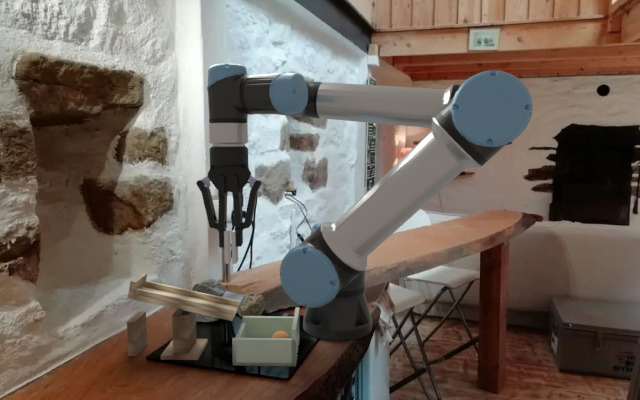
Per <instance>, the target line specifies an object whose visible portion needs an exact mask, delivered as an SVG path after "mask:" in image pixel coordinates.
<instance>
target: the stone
mask: <svg viewBox="0 0 640 400" xmlns="http://www.w3.org/2000/svg"><path fill="white" fill-rule="evenodd" d="M191 290H192V291H196V292H201V293H206V294H210V295H215V296H219V297H222V296H223V295H224V293H225V292H226V291H228V289H226V288H225V286H223V284H221V282H220V281H219V280H217V279H213V278H210V279H207V280H204V281H202V282H198V283H197V284H194V285H193V287H192V289H191ZM219 320H220V318H216V317H211V316H207V315H202V314H197V313H196V323H198V322H199V323H200V322H201V323H212V322H216V321H219Z"/></svg>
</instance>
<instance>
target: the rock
mask: <svg viewBox="0 0 640 400" xmlns="http://www.w3.org/2000/svg"><path fill="white" fill-rule="evenodd" d="M258 294H260V295H258ZM243 295H244V299H243V301H242V303H241V305H240V307H239V309H238V311H237V313H236V314H238V315H239V316H240V317H241V318H243V316H262V314H263V312H264V311H265V310H267V309H266V302H265V298H264V296H263V295H262V294H261V293H257V294H256V292H253V291H250V292H248V293H245V294H243Z"/></svg>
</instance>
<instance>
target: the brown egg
mask: <svg viewBox="0 0 640 400" xmlns="http://www.w3.org/2000/svg"><path fill="white" fill-rule="evenodd" d="M272 338H289V335H288V334H287V333H286V332H284V331H277V332H275V333H274V334H273V336H272Z"/></svg>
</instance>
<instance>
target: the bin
mask: <svg viewBox="0 0 640 400" xmlns="http://www.w3.org/2000/svg"><path fill="white" fill-rule="evenodd" d="M300 312H301V311H300V306H296V307H295V309H294V313H293V315H294V316H282V315H281V316H279V315H277V316H274V315H273V316H271V315H269V316H268V315H267V316H265V315H260V316H243V317H242V323H241V324H240V327H239V329H238V331H237V334H236V336H235V337H232V341H231V342H232V343H231V346H232V347H231V348H232V349H231V351H232V356H231V357H232V366H239V367H240V366H245V367H246V366H248V367H251V366H252V367H256V366H257V367H296V366H297V360H298V354H297V353H299V347H300V346H299V345H300V321H301V320H300V314H301V313H300ZM277 331H284V332H286V333H287V334H288V335H289V338H272V336H273V334H274V333H275V332H277ZM298 346H299V347H298Z"/></svg>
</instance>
